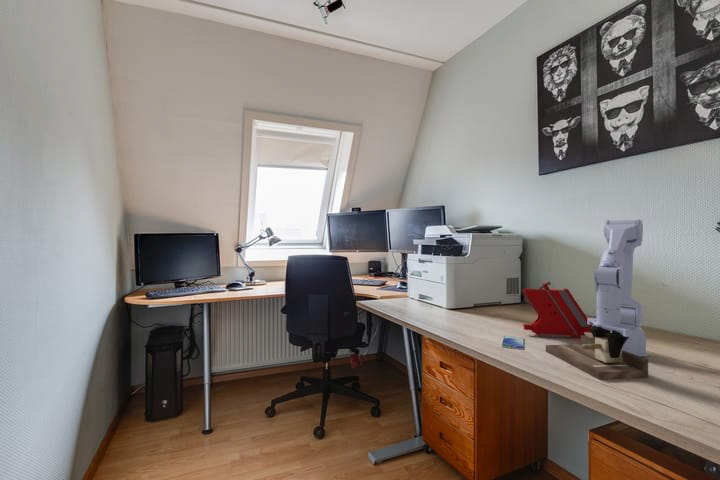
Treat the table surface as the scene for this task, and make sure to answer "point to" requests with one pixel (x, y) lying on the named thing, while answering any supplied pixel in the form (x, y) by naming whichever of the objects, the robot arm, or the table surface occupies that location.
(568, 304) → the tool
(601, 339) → the beige block with rod
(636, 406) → the table surface
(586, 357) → the board
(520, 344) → the smartphone
